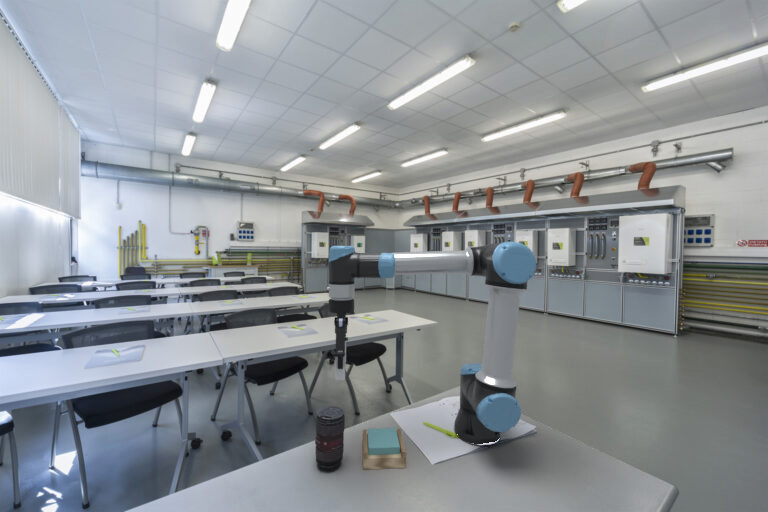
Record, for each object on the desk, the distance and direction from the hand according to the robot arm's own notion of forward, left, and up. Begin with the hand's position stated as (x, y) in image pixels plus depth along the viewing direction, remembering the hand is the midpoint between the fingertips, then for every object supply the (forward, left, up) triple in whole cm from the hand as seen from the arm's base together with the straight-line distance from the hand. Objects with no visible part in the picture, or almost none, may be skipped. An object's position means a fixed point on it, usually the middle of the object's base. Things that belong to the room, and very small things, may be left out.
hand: (340, 370), depth 93 cm
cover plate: (-13, -1, -23) cm, 26 cm away
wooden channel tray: (-13, -1, -26) cm, 29 cm away
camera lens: (+3, +3, -26) cm, 26 cm away
